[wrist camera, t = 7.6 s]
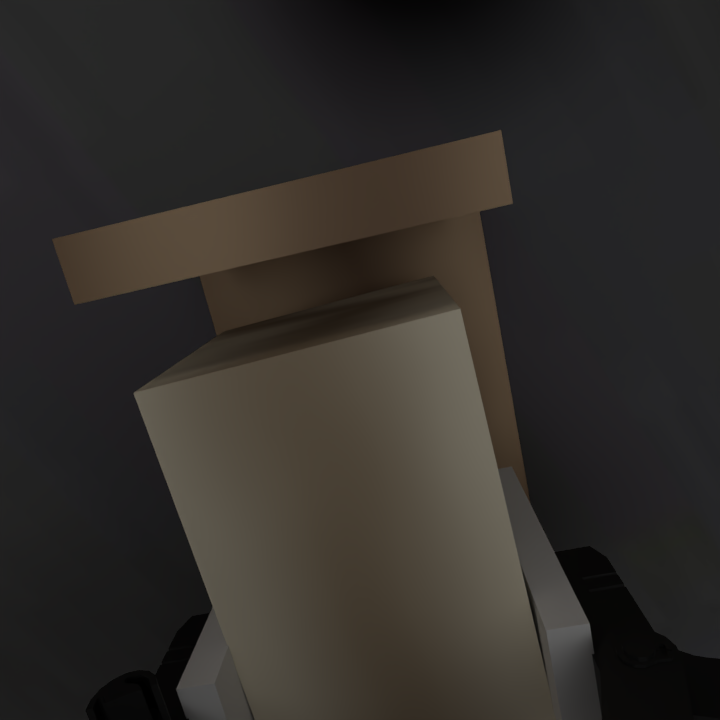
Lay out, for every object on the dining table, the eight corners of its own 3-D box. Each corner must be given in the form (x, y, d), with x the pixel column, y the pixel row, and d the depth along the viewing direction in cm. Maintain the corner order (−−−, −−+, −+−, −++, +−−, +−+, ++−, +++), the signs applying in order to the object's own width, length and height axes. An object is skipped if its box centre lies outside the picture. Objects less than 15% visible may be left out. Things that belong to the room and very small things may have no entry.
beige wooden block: (356, 732, 19) (341, 954, 13) (224, 331, 16) (133, 392, 10) (536, 699, 19) (602, 917, 13) (433, 275, 16) (460, 308, 10)
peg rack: (321, 675, 26) (275, 1006, 15) (194, 233, 21) (0, 252, 10) (550, 638, 25) (678, 962, 14) (468, 168, 20) (561, 115, 10)
